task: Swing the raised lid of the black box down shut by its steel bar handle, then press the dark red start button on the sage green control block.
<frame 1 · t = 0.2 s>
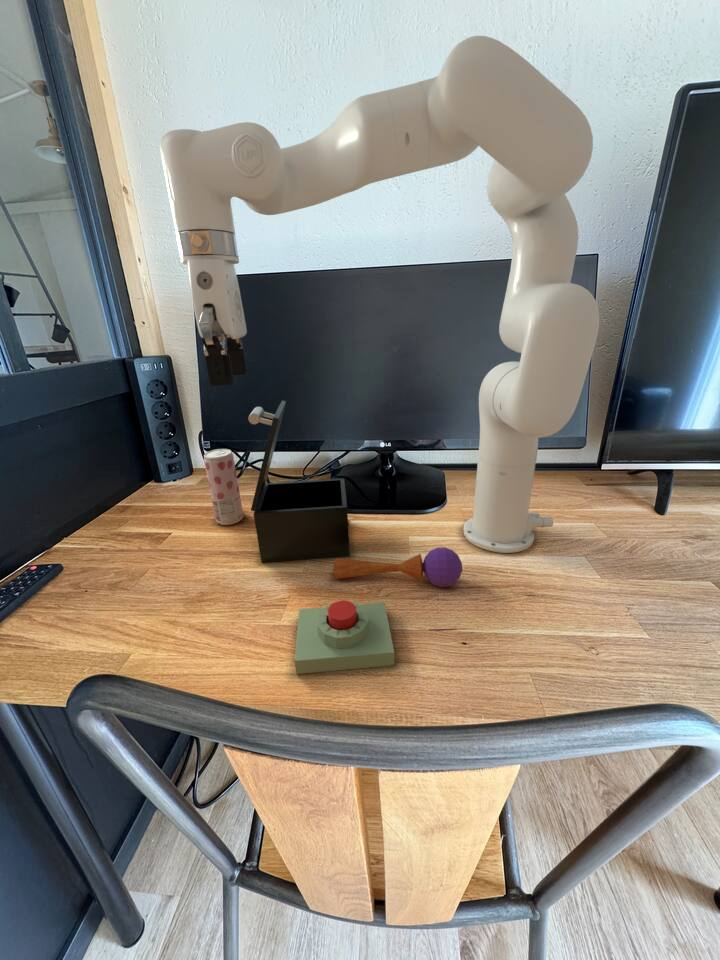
hand: (230, 379, 61), 31 cm above the table, tool pointing down, fingers open, 9 cm apart
black box: (307, 540, 76), on the table
control block: (344, 641, 53), on the table
beverage can: (230, 519, 85), on the table
lid: (257, 450, 68), point 19 cm above the table, hinge at 70.0°
start button: (342, 615, 51), point 4 cm above the table, slide at 0.1 cm
kendama: (397, 581, 64), on the table
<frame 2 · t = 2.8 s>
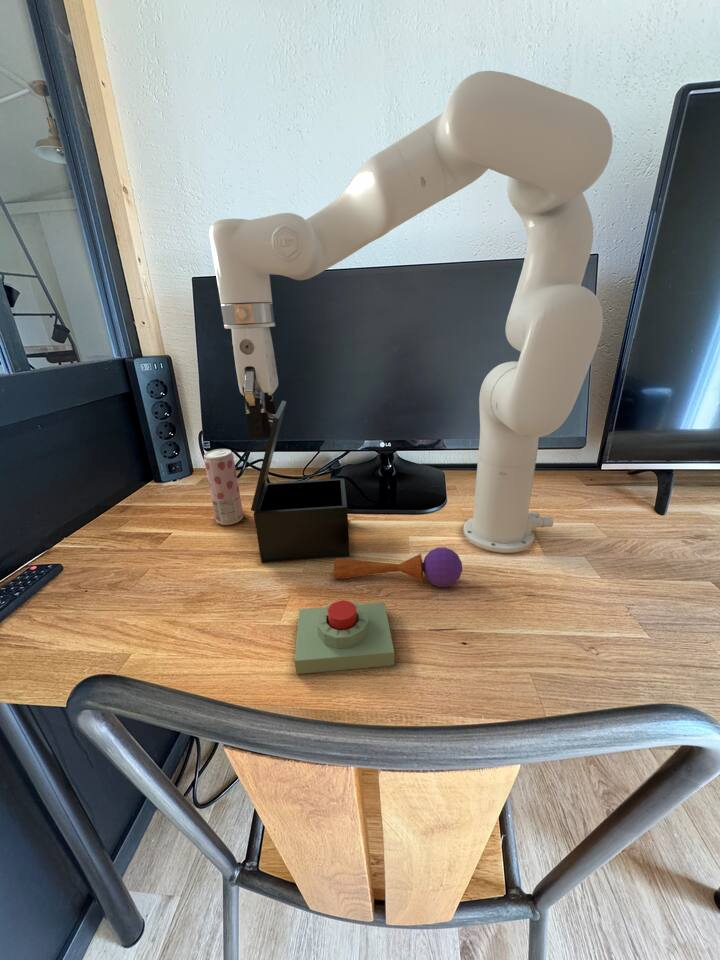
hand: (264, 429, 67), 22 cm above the table, tool pointing down, fingers closed on lid, 7 cm apart
lid: (257, 450, 68), point 19 cm above the table, hinge at 69.8°, touching gripper
everything else where it was.
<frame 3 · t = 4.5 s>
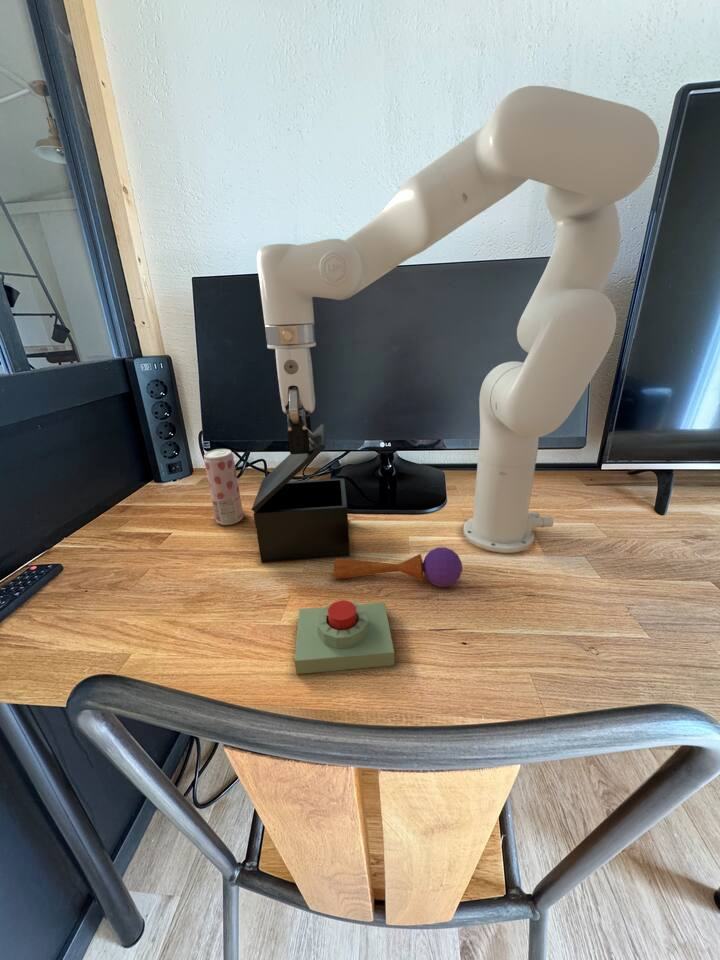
hand: (301, 444, 69), 19 cm above the table, tool pointing down, fingers open, 7 cm apart
lid: (282, 457, 69), point 17 cm above the table, hinge at 40.2°, touching gripper
everything else where it was.
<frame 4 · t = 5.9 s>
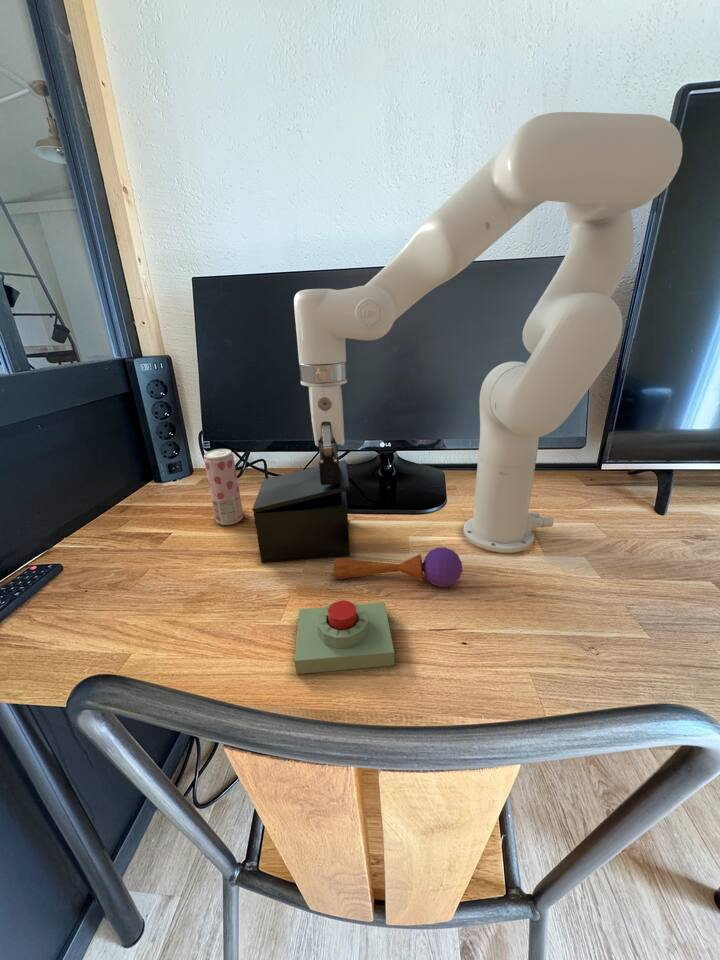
hand: (329, 474, 71), 13 cm above the table, tool pointing down, fingers open, 7 cm apart
lid: (300, 474, 71), point 14 cm above the table, hinge at 10.6°, touching gripper
everything else where it was.
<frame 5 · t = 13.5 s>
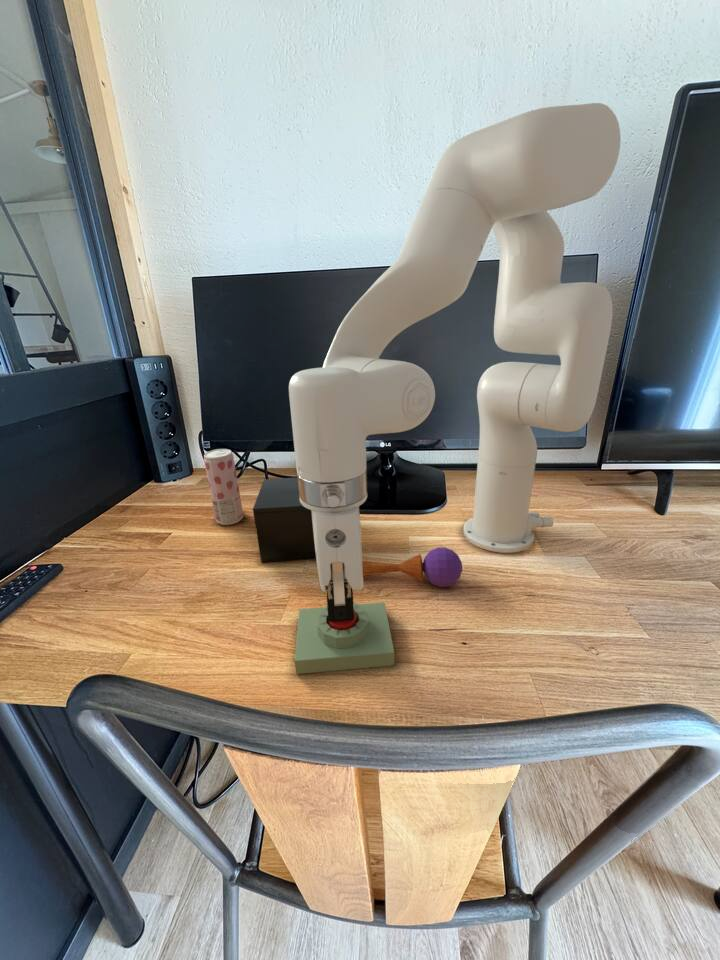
hand: (341, 616, 51), 4 cm above the table, tool pointing down, fingers closed
lid: (303, 482, 71), point 12 cm above the table, hinge at -0.2°, touching black box
start button: (342, 621, 51), point 4 cm above the table, slide at -0.9 cm, touching gripper
everything else where it was.
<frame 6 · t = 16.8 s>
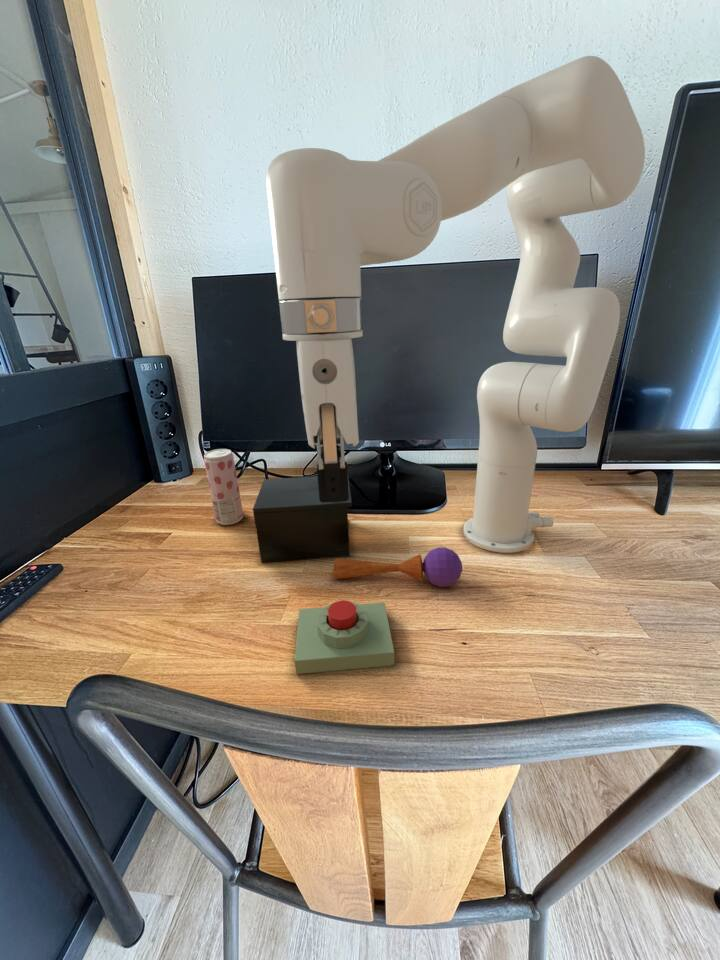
hand: (334, 498, 44), 21 cm above the table, tool pointing down, fingers closed
start button: (342, 615, 51), point 4 cm above the table, slide at 0.1 cm
everything else where it was.
at the end: lid at +0° (first picture: +70°); start button pushed in 1.1 cm at the most during the clip, back to where it started at the end; start button slide at 0.1 cm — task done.
